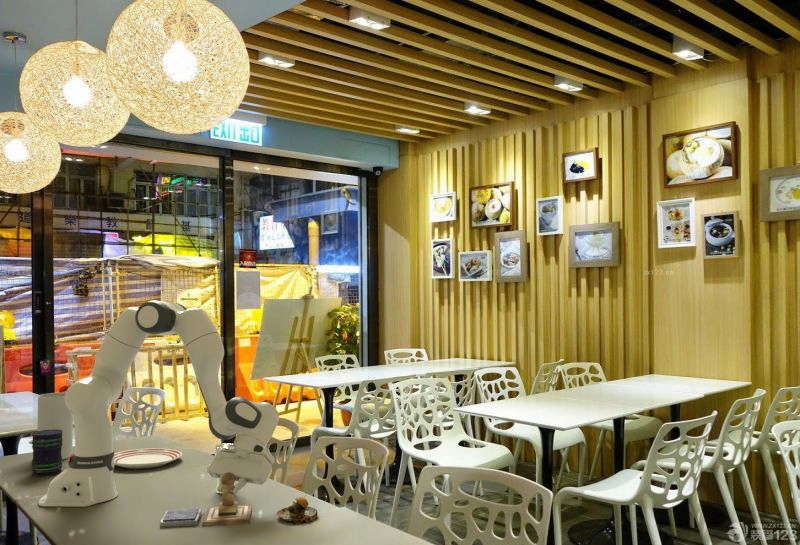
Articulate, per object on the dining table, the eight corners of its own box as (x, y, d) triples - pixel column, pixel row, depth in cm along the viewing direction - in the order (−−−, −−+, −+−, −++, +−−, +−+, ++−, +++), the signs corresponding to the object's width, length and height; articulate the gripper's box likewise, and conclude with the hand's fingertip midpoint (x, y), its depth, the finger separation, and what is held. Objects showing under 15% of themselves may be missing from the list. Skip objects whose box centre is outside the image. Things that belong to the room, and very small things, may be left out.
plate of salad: (281, 511, 201) (281, 486, 201) (320, 511, 200) (320, 486, 201) (272, 525, 189) (272, 498, 189) (313, 525, 188) (313, 499, 189)
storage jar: (64, 468, 249) (64, 428, 249) (59, 475, 239) (60, 433, 240) (34, 471, 246) (35, 430, 246) (28, 478, 236) (29, 435, 237)
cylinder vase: (66, 452, 274) (67, 391, 275) (76, 458, 265) (77, 395, 266) (33, 457, 266) (34, 394, 267) (41, 463, 257) (42, 398, 257)
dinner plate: (155, 451, 277) (155, 443, 277) (196, 461, 261) (196, 452, 261) (91, 465, 255) (91, 456, 255) (133, 476, 239) (133, 467, 239)
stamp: (218, 515, 192) (218, 475, 193) (219, 510, 197) (220, 470, 198) (236, 514, 193) (236, 474, 194) (237, 509, 198) (237, 470, 199)
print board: (202, 525, 188) (202, 521, 188) (207, 510, 200) (207, 506, 201) (249, 522, 190) (249, 518, 190) (251, 508, 203) (251, 504, 203)
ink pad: (159, 527, 186) (159, 520, 186) (166, 515, 196) (166, 509, 196) (196, 525, 188) (197, 518, 188) (201, 513, 198) (201, 507, 198)
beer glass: (230, 495, 216) (230, 448, 217) (210, 493, 218) (210, 447, 218) (239, 489, 223) (239, 443, 223) (220, 487, 224) (220, 442, 225)
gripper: (216, 442, 207) (193, 482, 197) (270, 449, 198) (249, 491, 189) (225, 453, 210) (204, 493, 201) (279, 460, 202) (259, 502, 193)
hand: (226, 492), depth 195 cm, fingers closed on stamp, 3 cm apart
